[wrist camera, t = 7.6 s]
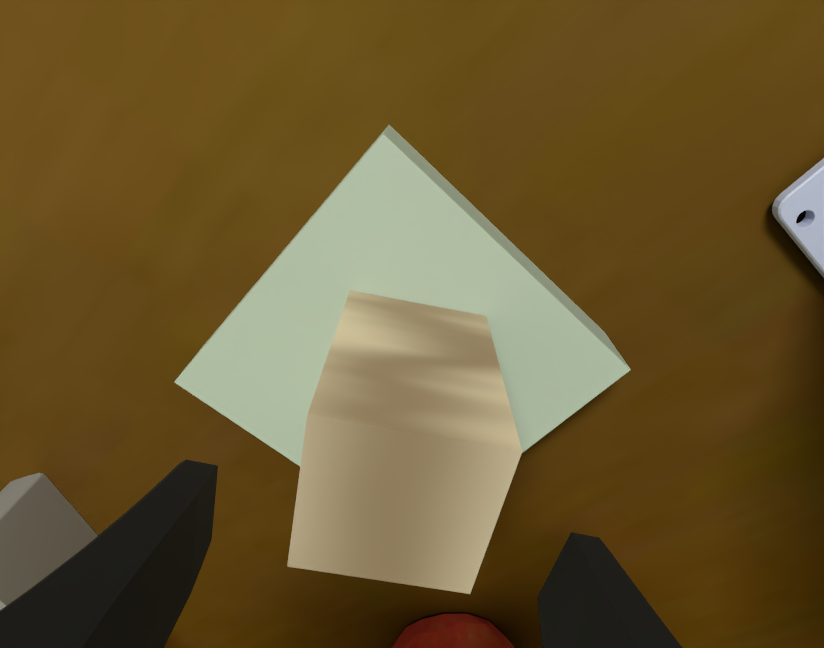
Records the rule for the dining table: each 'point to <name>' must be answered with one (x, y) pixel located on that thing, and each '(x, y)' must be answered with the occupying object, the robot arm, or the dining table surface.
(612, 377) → the stacking block
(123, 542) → the robot arm
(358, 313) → the beech block
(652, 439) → the dining table surface
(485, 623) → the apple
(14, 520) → the lighter
